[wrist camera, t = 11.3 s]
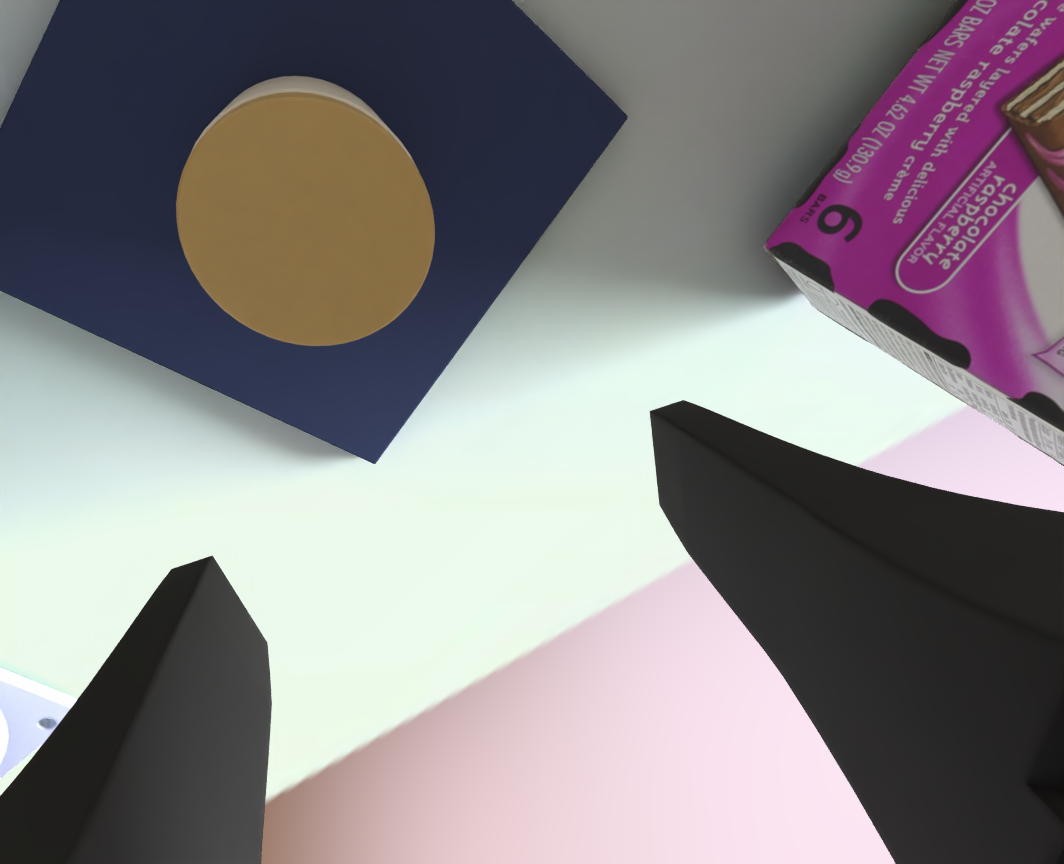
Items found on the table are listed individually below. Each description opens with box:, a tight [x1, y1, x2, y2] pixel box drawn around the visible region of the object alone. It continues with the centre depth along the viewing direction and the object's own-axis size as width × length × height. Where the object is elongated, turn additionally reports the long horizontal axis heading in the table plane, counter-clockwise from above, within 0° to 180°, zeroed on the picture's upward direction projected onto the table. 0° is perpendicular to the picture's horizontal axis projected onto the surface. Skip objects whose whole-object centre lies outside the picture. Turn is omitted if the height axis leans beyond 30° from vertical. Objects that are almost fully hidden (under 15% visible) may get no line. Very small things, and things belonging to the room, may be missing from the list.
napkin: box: [0, 0, 628, 464], centre depth 16 cm, size 12×11×1 cm
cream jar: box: [176, 76, 435, 346], centre depth 14 cm, size 4×4×5 cm
